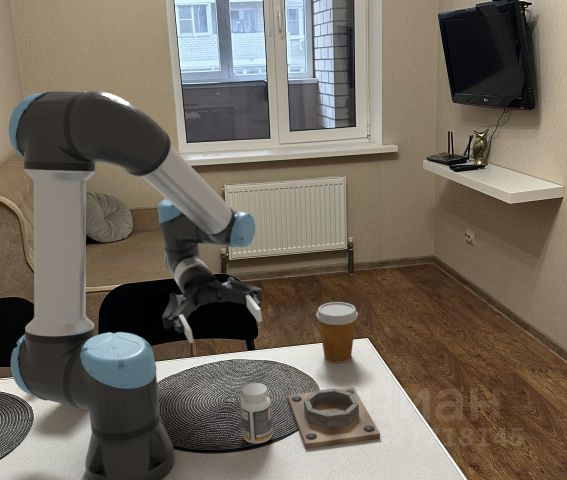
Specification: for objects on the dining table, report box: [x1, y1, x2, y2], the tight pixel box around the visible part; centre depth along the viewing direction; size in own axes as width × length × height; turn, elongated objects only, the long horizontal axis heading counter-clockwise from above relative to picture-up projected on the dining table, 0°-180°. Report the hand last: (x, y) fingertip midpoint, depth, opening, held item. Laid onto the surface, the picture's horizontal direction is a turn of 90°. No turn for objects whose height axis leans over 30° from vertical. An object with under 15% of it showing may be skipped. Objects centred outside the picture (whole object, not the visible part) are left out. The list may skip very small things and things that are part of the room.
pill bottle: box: [239, 382, 274, 445], centre depth 121 cm, size 6×6×10 cm
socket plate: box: [287, 387, 381, 449], centre depth 127 cm, size 14×18×4 cm
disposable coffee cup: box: [315, 301, 358, 363], centre depth 152 cm, size 10×10×12 cm
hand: (225, 326), depth 122 cm, fingers open, 13 cm apart
